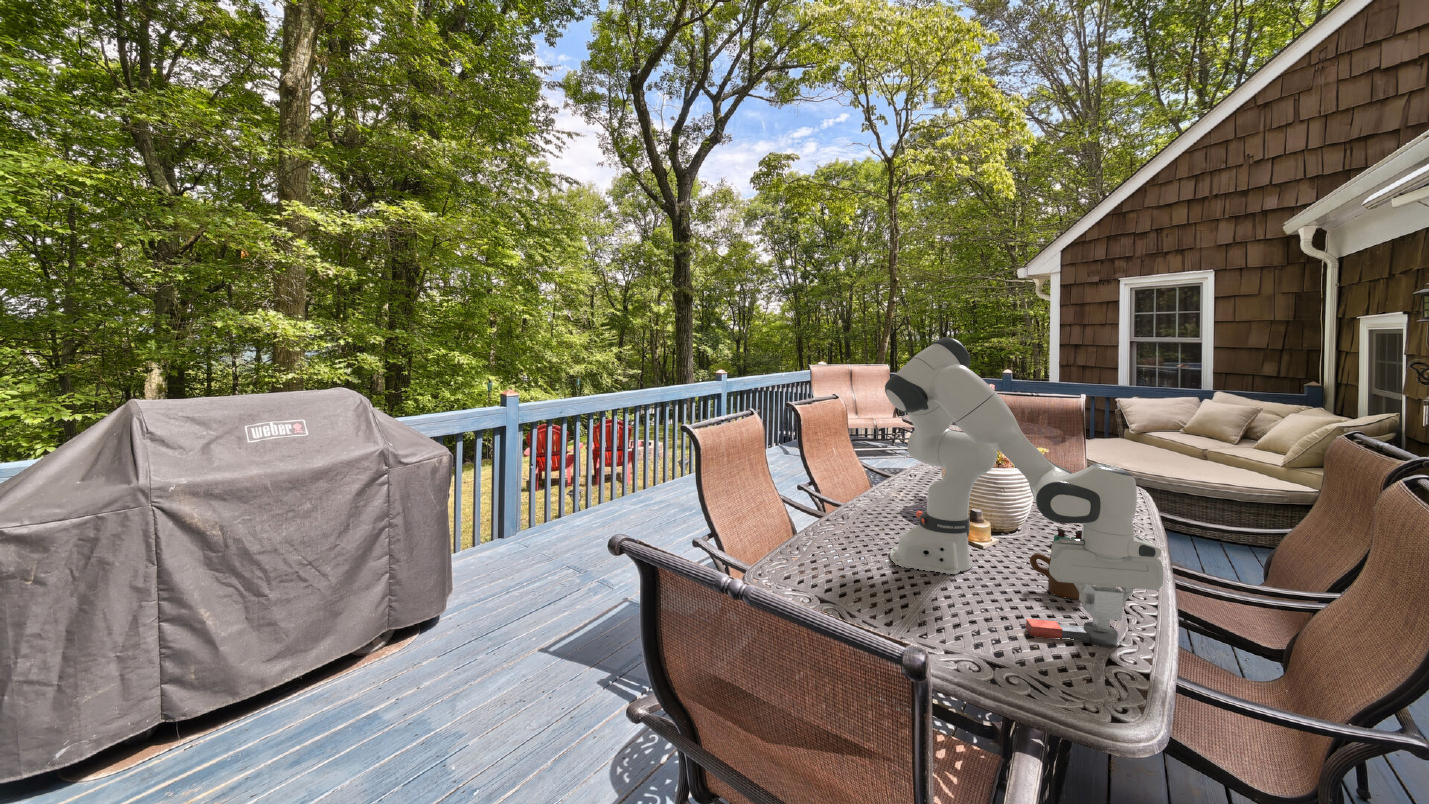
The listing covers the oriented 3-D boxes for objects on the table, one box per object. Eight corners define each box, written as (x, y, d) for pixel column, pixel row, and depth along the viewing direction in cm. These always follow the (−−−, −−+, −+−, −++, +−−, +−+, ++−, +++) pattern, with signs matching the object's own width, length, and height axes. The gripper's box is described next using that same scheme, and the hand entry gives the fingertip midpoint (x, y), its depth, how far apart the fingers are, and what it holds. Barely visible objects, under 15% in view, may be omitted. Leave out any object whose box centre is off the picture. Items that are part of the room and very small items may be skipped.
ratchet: (1033, 639, 117) (1034, 615, 116) (1023, 625, 122) (1025, 602, 122) (1122, 649, 113) (1124, 624, 113) (1108, 634, 119) (1110, 610, 118)
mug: (1026, 590, 140) (1029, 555, 139) (1029, 580, 147) (1031, 546, 146) (1082, 603, 133) (1085, 566, 133) (1083, 591, 140) (1085, 556, 139)
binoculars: (1081, 525, 162) (1090, 533, 152) (1080, 561, 162) (1089, 570, 152) (1047, 522, 165) (1053, 529, 156) (1045, 556, 165) (1052, 565, 156)
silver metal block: (1093, 618, 114) (1095, 590, 113) (1082, 606, 119) (1084, 580, 118) (1121, 620, 113) (1123, 593, 112) (1108, 609, 118) (1110, 582, 117)
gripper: (1058, 542, 113) (1053, 605, 115) (1170, 550, 109) (1164, 616, 111) (1046, 532, 120) (1042, 592, 121) (1152, 539, 115) (1147, 601, 117)
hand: (1101, 603), depth 116 cm, fingers closed on silver metal block, 5 cm apart
